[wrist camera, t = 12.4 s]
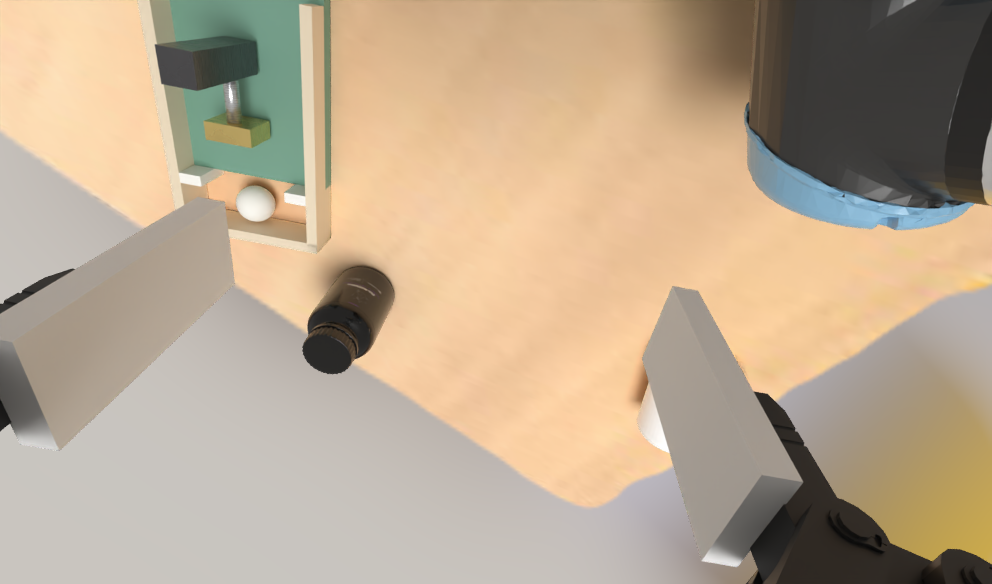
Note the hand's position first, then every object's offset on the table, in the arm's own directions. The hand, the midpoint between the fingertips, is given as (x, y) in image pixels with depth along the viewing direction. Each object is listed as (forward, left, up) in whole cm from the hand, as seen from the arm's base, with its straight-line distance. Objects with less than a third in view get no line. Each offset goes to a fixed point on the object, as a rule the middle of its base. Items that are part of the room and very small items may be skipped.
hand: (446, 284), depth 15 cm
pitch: (+6, -23, -35) cm, 42 cm away
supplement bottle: (+24, -12, -35) cm, 44 cm away
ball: (+15, -23, -33) cm, 43 cm away
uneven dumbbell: (+4, -23, -33) cm, 40 cm away
